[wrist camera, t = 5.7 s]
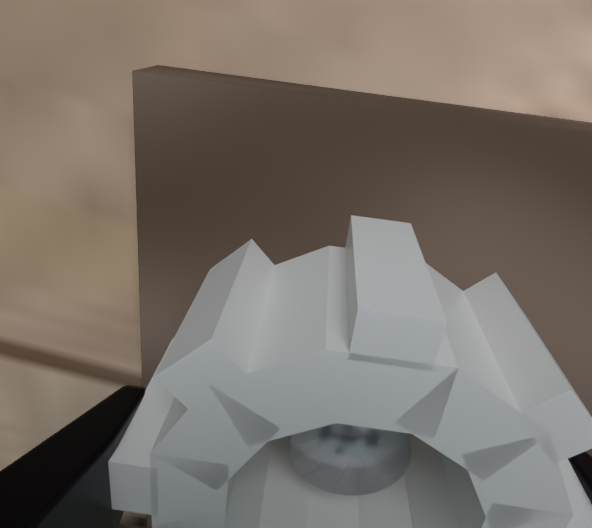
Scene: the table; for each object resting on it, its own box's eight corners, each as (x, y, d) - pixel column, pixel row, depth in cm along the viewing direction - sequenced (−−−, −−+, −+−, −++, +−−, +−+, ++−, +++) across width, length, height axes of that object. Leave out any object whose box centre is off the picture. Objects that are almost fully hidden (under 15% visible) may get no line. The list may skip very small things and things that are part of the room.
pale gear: (474, 523, 11) (517, 681, 8) (172, 480, 11) (121, 622, 9) (591, 247, 8) (719, 359, 5) (172, 191, 8) (92, 272, 5)
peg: (379, 361, 12) (397, 503, 8) (299, 349, 12) (283, 486, 8) (396, 291, 11) (424, 416, 8) (309, 279, 11) (296, 398, 8)
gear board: (707, 643, 18) (736, 692, 17) (162, 562, 19) (149, 603, 18) (1120, 192, 10) (1234, 217, 9) (157, 65, 11) (132, 71, 9)
